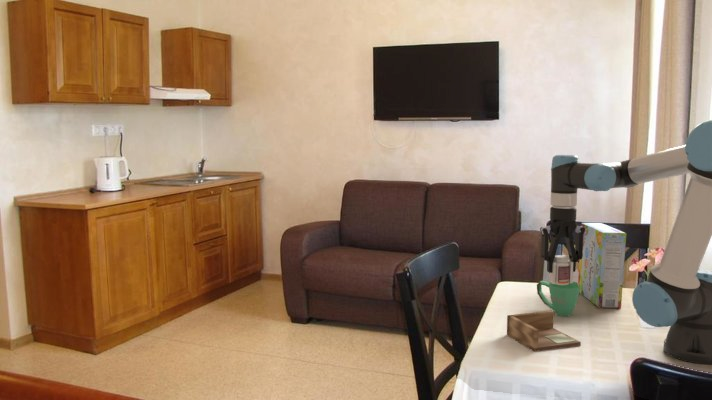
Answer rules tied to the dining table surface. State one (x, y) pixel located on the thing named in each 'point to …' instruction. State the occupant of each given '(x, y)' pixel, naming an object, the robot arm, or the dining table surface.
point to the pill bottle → (562, 270)
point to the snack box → (602, 265)
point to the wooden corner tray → (538, 331)
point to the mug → (560, 297)
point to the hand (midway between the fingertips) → (560, 282)
